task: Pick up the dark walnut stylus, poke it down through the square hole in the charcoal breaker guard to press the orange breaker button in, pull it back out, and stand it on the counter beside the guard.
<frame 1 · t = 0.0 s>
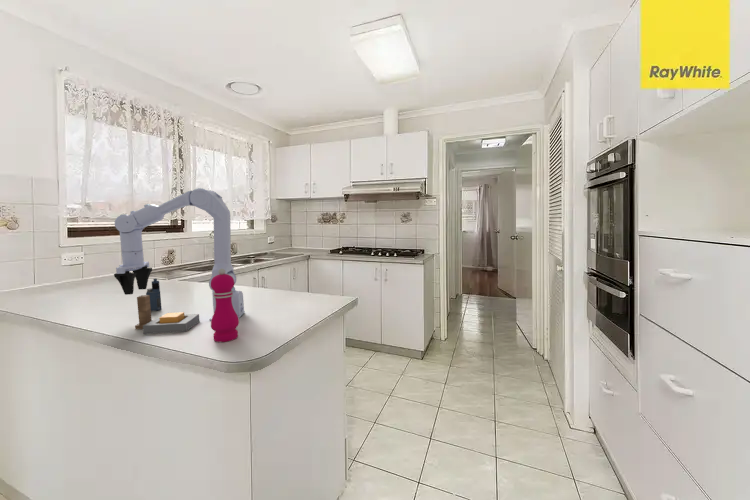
hand: (135, 291, 108), 10 cm above the countertop, tool pointing down, fingers open, 7 cm apart
pepper mill: (226, 338, 92), on the countertop
breaker button: (172, 317, 102), point 3 cm above the countertop, slide at 0.0 cm
breaker guard: (173, 327, 102), on the countertop
stylus: (145, 326, 103), on the countertop
vaping device: (154, 310, 123), on the countertop
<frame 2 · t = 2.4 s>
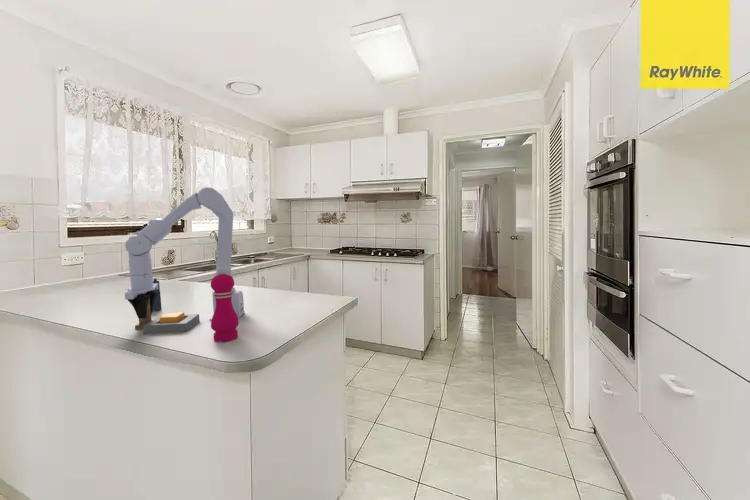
hand: (145, 316, 103), 3 cm above the countertop, tool pointing down, fingers closed on stylus, 2 cm apart
stylus: (145, 326, 103), on the countertop, touching gripper
everything else where it was.
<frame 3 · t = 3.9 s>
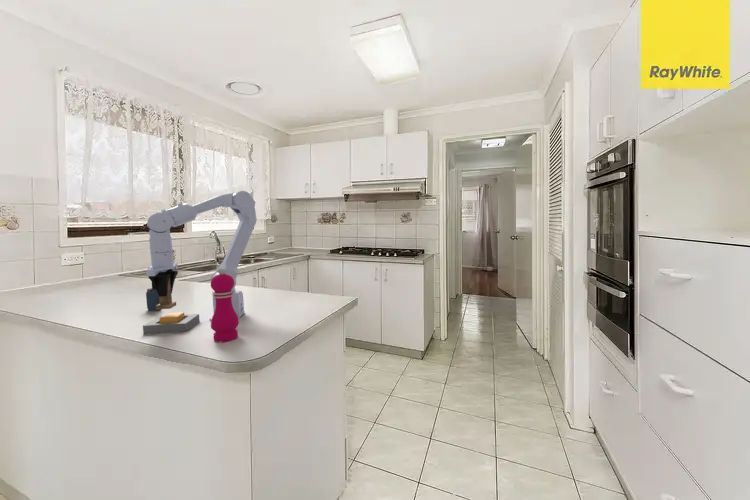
hand: (165, 295, 102), 10 cm above the countertop, tool pointing down, fingers closed on stylus, 2 cm apart
stylus: (166, 307, 102), point 6 cm above the countertop, touching gripper
everything else where it was.
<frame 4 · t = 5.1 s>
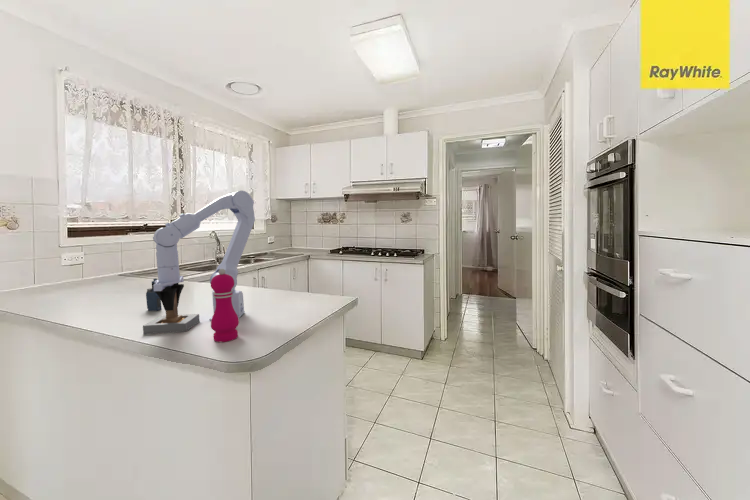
hand: (171, 309, 102), 6 cm above the countertop, tool pointing down, fingers closed on stylus, 2 cm apart
breaker button: (172, 324, 102), point 1 cm above the countertop, slide at 2.0 cm, touching stylus
stylus: (172, 321, 102), point 2 cm above the countertop, touching breaker button, gripper
everything else where it was.
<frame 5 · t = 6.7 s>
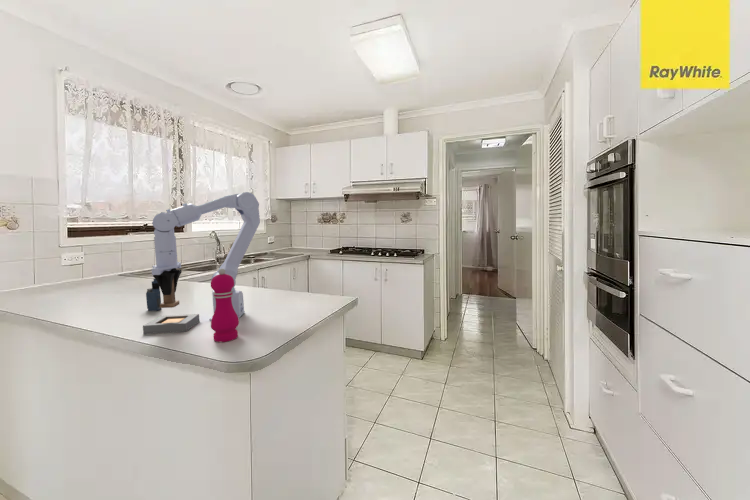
hand: (169, 293, 103), 10 cm above the countertop, tool pointing down, fingers closed on stylus, 2 cm apart
breaker button: (172, 324, 102), point 1 cm above the countertop, slide at 2.0 cm
stylus: (169, 306, 103), point 6 cm above the countertop, touching gripper
everything else where it was.
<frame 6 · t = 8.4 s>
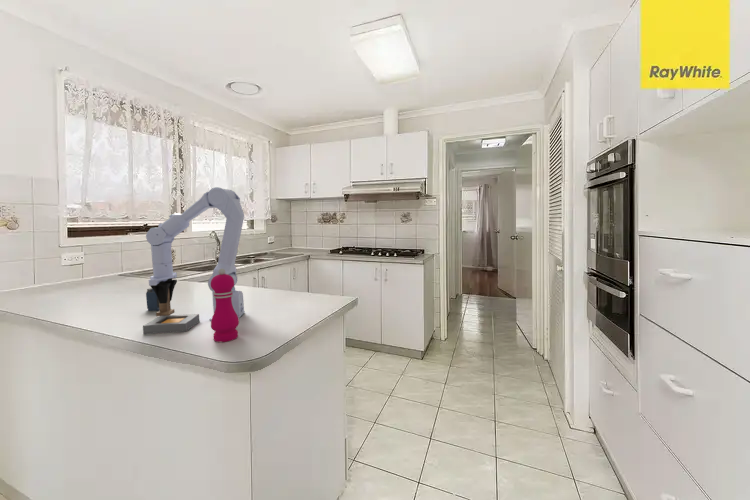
hand: (165, 302, 112), 6 cm above the countertop, tool pointing down, fingers closed on stylus, 2 cm apart
stylus: (165, 314, 112), point 1 cm above the countertop, touching gripper
everything else where it was.
when the fingers open (4 cm above the countertop, at t = 9.4 s): stylus stays where it is, on the countertop.
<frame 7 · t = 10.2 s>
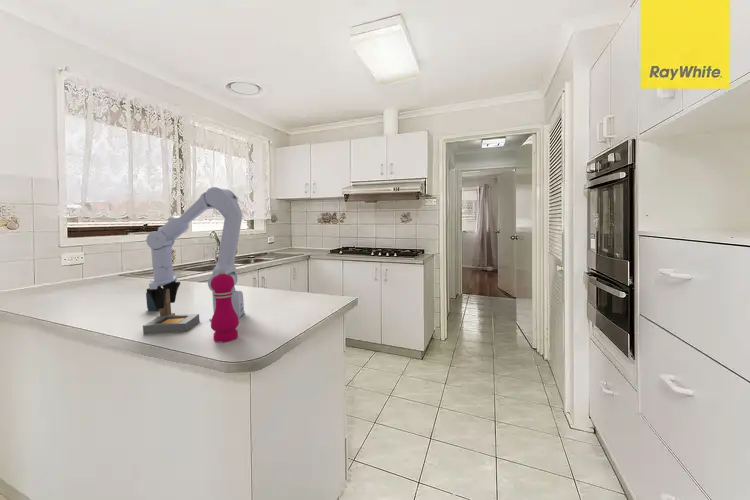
hand: (165, 305, 112), 4 cm above the countertop, tool pointing down, fingers open, 7 cm apart
stylus: (166, 318, 112), on the countertop
everything else where it was.
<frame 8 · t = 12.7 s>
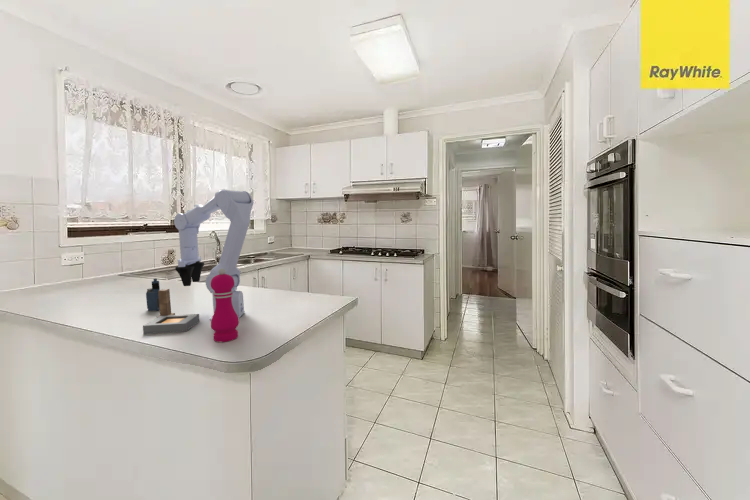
hand: (191, 283, 119), 10 cm above the countertop, tool pointing down, fingers open, 7 cm apart
nothing on the countertop moved.
at the end: breaker button slide at 2.0 cm; stylus inside the target area (0.2 cm from its centre), on the countertop; stylus tilted 0° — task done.
